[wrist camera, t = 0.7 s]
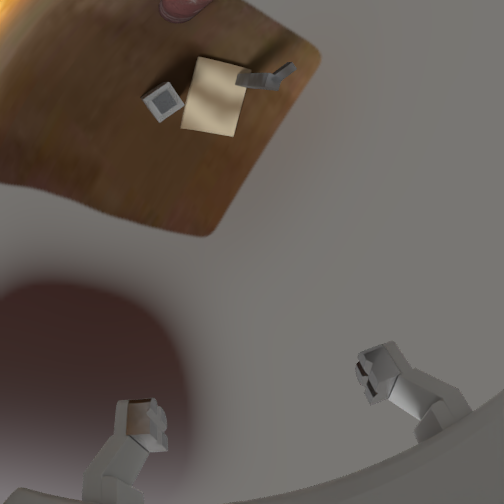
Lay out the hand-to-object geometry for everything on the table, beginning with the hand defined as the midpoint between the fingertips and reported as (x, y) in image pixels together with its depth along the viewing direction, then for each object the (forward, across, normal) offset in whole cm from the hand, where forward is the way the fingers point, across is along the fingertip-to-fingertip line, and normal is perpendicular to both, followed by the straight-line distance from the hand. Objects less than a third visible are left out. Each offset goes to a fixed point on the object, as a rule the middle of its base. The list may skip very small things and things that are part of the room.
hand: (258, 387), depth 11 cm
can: (+42, +1, -25) cm, 49 cm away
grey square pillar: (+42, +6, -10) cm, 43 cm away
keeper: (+44, -4, -9) cm, 45 cm away
